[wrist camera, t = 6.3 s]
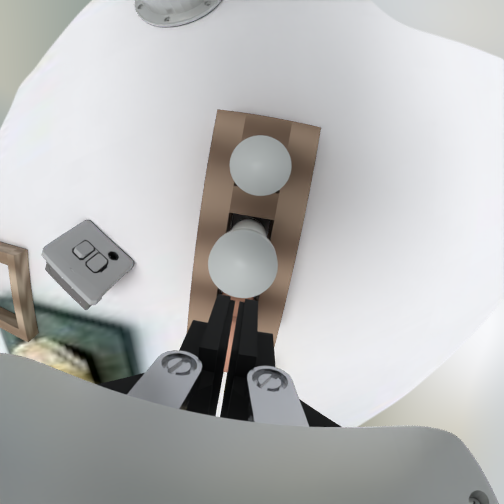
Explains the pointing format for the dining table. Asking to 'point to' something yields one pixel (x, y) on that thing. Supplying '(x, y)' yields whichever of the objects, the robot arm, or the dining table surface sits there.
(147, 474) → the robot arm
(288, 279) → the block
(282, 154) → the grey plug
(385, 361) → the dining table surface
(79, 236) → the electrical switch
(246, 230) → the grey plug
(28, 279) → the square wooden frame
